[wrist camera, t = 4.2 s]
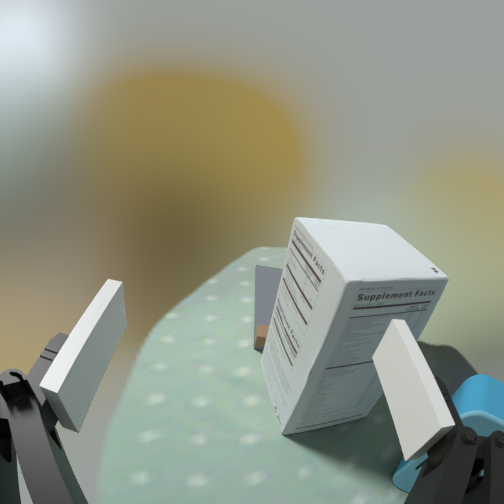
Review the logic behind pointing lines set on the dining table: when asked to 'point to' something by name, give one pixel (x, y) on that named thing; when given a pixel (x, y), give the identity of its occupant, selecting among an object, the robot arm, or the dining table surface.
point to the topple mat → (264, 301)
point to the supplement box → (340, 318)
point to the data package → (465, 419)
